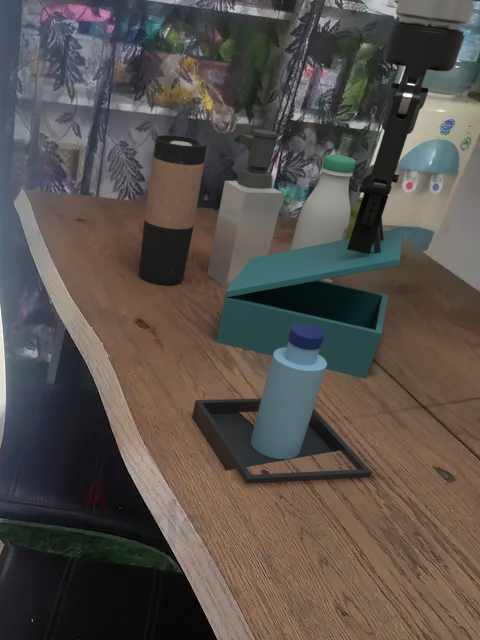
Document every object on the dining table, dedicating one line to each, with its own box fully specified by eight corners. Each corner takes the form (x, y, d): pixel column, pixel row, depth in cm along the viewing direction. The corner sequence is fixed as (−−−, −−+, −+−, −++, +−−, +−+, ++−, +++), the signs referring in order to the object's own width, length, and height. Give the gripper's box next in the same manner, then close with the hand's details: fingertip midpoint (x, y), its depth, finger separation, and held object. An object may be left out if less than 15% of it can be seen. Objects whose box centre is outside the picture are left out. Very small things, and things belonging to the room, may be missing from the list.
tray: (365, 489, 73) (372, 472, 72) (243, 496, 70) (248, 478, 69) (299, 413, 85) (304, 397, 84) (191, 416, 82) (195, 399, 80)
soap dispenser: (234, 268, 125) (265, 125, 112) (260, 287, 119) (296, 137, 106) (200, 269, 123) (227, 123, 110) (225, 288, 117) (257, 135, 104)
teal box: (372, 340, 105) (388, 294, 101) (364, 384, 93) (381, 333, 89) (239, 310, 110) (249, 264, 106) (214, 347, 98) (225, 297, 94)
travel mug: (130, 279, 116) (148, 139, 104) (145, 265, 122) (164, 132, 110) (176, 289, 114) (200, 149, 102) (189, 275, 120) (213, 141, 108)
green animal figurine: (330, 250, 140) (346, 194, 134) (346, 246, 143) (362, 192, 137) (355, 259, 137) (372, 202, 131) (370, 255, 140) (388, 200, 134)
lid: (403, 233, 96) (397, 153, 92) (399, 265, 84) (391, 175, 80) (250, 264, 105) (237, 193, 101) (226, 297, 93) (210, 218, 89)
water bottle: (309, 455, 76) (347, 340, 69) (268, 462, 74) (302, 344, 67) (280, 430, 80) (313, 318, 72) (240, 436, 78) (269, 322, 70)
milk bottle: (319, 303, 116) (358, 166, 104) (273, 289, 119) (307, 154, 107) (334, 291, 121) (374, 159, 109) (290, 278, 124) (324, 149, 112)
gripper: (470, 31, 69) (387, 272, 83) (464, 26, 85) (395, 230, 98) (389, 20, 71) (321, 257, 85) (397, 17, 86) (338, 219, 100)
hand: (361, 242), depth 92 cm, fingers closed on lid, 7 cm apart
